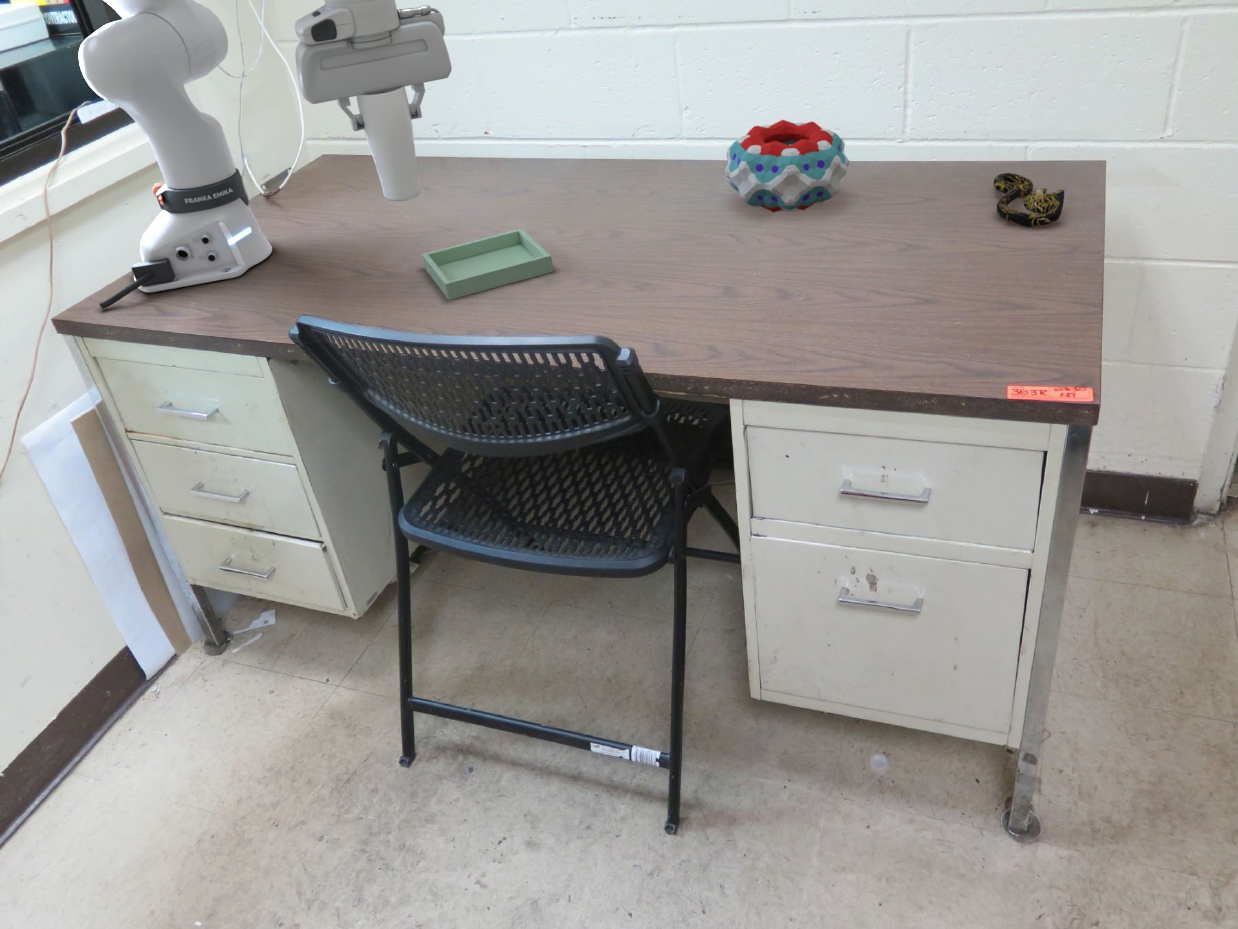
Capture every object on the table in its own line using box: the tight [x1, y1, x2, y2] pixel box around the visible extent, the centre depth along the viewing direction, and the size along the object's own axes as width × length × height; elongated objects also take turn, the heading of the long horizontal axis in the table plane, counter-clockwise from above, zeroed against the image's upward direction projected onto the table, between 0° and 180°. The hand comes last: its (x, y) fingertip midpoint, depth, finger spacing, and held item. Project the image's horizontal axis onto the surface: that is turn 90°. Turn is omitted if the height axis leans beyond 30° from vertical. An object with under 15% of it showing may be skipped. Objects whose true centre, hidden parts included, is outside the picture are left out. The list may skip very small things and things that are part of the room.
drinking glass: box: [355, 86, 422, 202], centre depth 137 cm, size 7×7×15 cm
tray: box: [421, 228, 554, 301], centre depth 151 cm, size 17×14×3 cm
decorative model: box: [724, 119, 850, 213], centre depth 160 cm, size 19×14×20 cm
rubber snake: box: [993, 172, 1065, 228], centre depth 150 cm, size 18×5×10 cm
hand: (387, 123), depth 136 cm, fingers closed on drinking glass, 7 cm apart
